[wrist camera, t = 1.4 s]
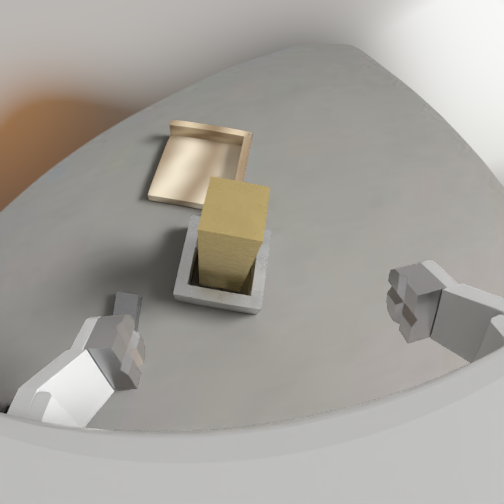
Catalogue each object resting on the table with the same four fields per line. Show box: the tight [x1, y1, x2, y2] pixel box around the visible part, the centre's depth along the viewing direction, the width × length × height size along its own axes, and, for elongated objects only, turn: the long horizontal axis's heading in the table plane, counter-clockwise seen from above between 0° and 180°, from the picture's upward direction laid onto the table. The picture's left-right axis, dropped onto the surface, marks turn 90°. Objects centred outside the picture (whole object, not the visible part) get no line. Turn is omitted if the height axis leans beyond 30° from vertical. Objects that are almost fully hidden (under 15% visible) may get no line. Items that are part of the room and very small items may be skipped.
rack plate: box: [148, 120, 253, 209], centre depth 37 cm, size 11×11×3 cm
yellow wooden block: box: [198, 176, 270, 292], centre depth 27 cm, size 4×4×14 cm
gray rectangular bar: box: [113, 292, 142, 390], centre depth 29 cm, size 10×2×2 cm, turn 177°
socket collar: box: [173, 215, 271, 314], centre depth 32 cm, size 9×9×3 cm
